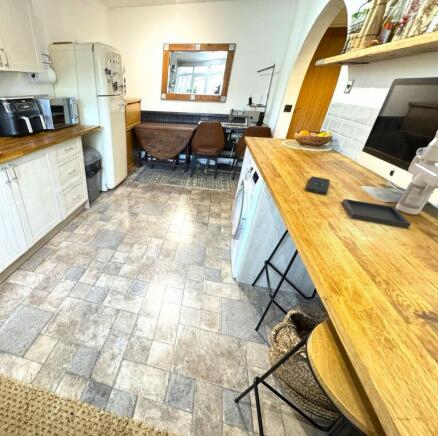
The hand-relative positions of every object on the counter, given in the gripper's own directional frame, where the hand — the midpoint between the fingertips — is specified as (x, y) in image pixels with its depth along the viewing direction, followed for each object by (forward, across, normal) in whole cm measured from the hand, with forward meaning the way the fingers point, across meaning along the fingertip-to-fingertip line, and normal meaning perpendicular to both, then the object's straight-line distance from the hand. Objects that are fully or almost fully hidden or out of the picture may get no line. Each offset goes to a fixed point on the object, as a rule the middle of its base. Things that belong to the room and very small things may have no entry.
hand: (417, 191), depth 92 cm
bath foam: (+9, 0, -1) cm, 9 cm away
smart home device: (+9, +14, +28) cm, 33 cm away
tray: (+9, -10, +13) cm, 19 cm away
